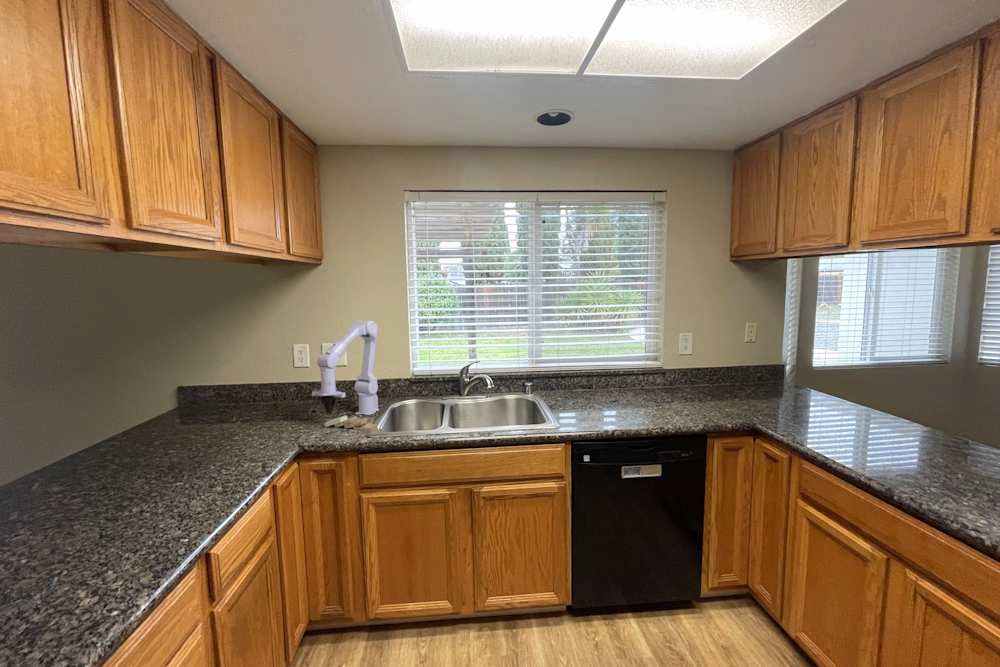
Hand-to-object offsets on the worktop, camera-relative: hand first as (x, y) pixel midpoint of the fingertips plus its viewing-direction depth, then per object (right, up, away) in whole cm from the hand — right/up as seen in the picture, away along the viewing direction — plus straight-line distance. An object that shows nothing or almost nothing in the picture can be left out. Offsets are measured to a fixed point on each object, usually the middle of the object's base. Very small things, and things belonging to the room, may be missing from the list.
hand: (329, 412), depth 179 cm
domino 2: (+4, -5, 0) cm, 6 cm away
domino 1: (-1, -5, +1) cm, 5 cm away
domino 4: (+12, -6, -2) cm, 14 cm away
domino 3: (+8, -5, -1) cm, 10 cm away
